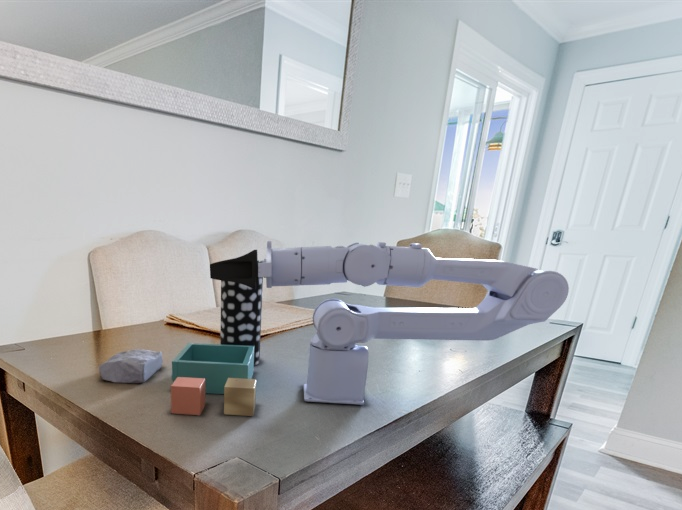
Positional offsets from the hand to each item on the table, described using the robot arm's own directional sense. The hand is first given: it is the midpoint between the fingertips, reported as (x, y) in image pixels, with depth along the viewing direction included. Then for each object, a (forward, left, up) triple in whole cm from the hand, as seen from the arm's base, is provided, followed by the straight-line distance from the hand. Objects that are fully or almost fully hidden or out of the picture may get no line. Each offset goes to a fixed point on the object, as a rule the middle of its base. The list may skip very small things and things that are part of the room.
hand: (213, 270), depth 73 cm
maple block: (-6, +8, -20) cm, 23 cm away
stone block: (+17, -7, -21) cm, 28 cm away
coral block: (+2, +9, -20) cm, 22 cm away
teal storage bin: (0, -5, -20) cm, 21 cm away
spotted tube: (-3, -19, -21) cm, 28 cm away
